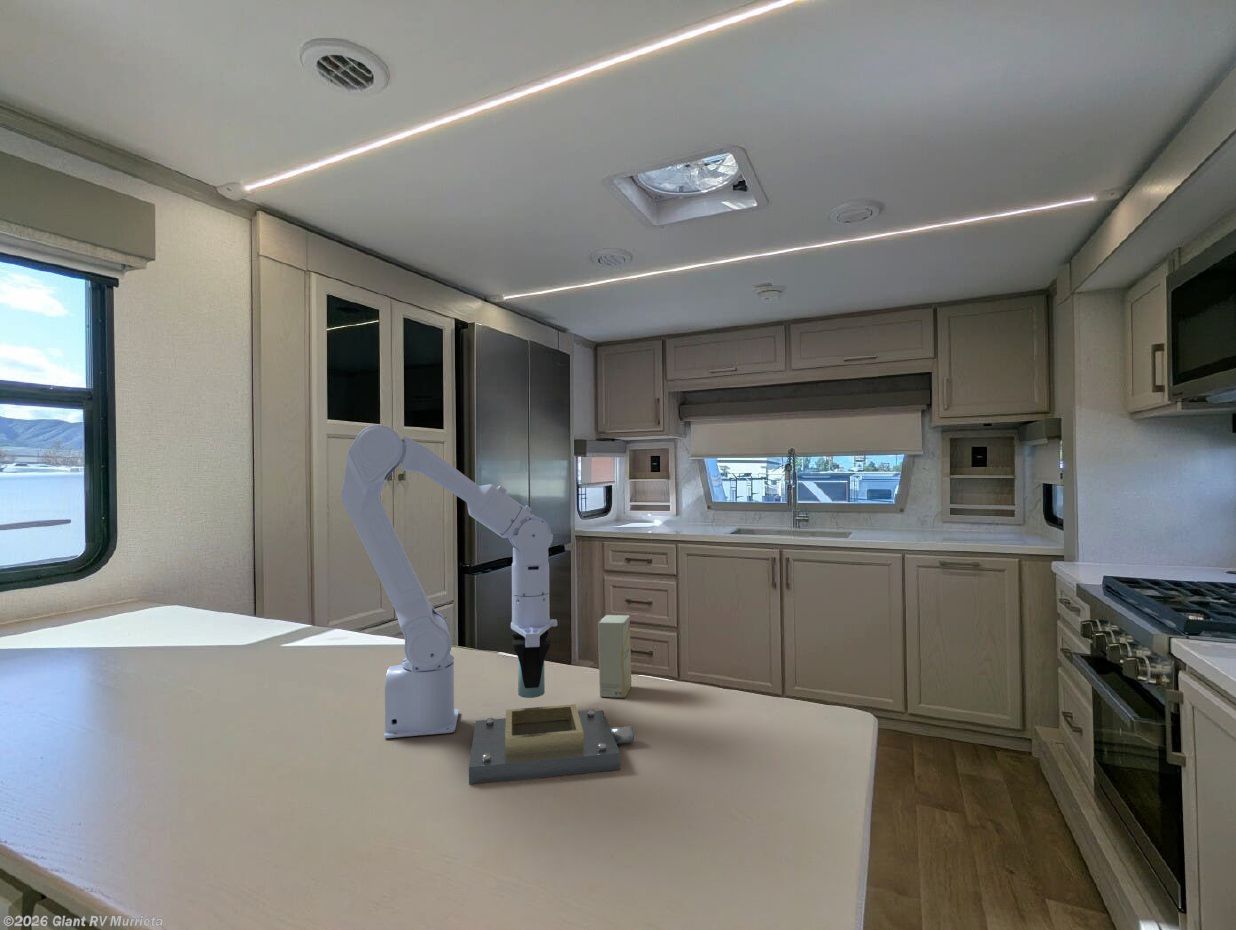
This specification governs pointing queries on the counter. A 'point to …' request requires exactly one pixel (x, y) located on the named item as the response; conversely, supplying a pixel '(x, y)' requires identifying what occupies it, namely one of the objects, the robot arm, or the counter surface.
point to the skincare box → (614, 656)
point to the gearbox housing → (544, 744)
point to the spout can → (530, 691)
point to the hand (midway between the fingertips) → (531, 682)
